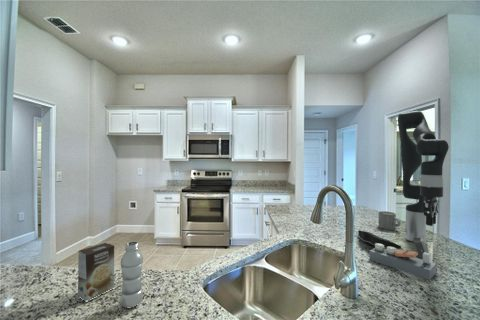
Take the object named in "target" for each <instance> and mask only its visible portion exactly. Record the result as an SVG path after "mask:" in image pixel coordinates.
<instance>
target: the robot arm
mask: <svg viewBox="0 0 480 320" xmlns="http://www.w3.org/2000/svg"><path fill="white" fill-rule="evenodd" d="M397 126H398V133H399V140H400V158H401V168H402V170H401V171H402V195H403V198H404V199H409V200H416V201H417V200H418V201H417V202H414V203H410V204H406V205H405V240H407V241H410V242H412V243H414V238H420V236H423V238H424V241H425V243H427V226H430V227H433V226H434V225H435V224H436V223H437V216H438V213H439V202H440V200H439V199H437V198H443V197H444V178H443V164H444V162H445V160H446V156H447V154H448V151H449V148H450V147H449V143H448V141H447V140H446V139H442V138H441V139H440V138H438V139H437V138H436V136H435V134H434V132H432V130H431V129H430V127H429V125H428V122H427V119H426V116H425V115H424V113H423V112H422V111H421V110H414V111H408V112H402V113H399V114H398V116H397ZM410 129H411V130H412V129H413V131H412V137H413V139H414V141H415V142H416V143H415V142H414V141H413V140H412V138H410V136H409V134H408V131H407V130H410ZM423 156H426V157H427V156H430V157H431V156H432V157H434V158H433V159H431V160H426V161H423ZM419 168H420V178H419V183H414V182H413V183H412V182H411V179H412V177H413V175H414V174H415V173H416V171H417V170H418V169H419Z"/></svg>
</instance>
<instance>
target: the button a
mask: <svg viewBox="0 0 480 320" xmlns="http://www.w3.org/2000/svg"><path fill="white" fill-rule="evenodd" d="M374 248H375V250H377V251H384V245H383V244H379V243H376V244H375V245H374Z"/></svg>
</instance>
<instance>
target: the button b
mask: <svg viewBox="0 0 480 320" xmlns="http://www.w3.org/2000/svg"><path fill="white" fill-rule="evenodd" d="M386 249H387V253H388V254H391V255H395V253H396V252H397V251H398V249H396V248H394V247H387V248H386Z"/></svg>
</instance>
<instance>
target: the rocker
mask: <svg viewBox="0 0 480 320" xmlns="http://www.w3.org/2000/svg"><path fill="white" fill-rule="evenodd" d="M395 256H401V257H410V258H417V256H419V255H418V252H417V251H412V250H411V251H410V250H409V249H406V250H402V249H398V250H397V252H396V253H395Z"/></svg>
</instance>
